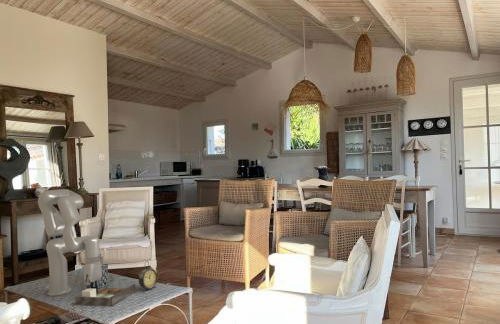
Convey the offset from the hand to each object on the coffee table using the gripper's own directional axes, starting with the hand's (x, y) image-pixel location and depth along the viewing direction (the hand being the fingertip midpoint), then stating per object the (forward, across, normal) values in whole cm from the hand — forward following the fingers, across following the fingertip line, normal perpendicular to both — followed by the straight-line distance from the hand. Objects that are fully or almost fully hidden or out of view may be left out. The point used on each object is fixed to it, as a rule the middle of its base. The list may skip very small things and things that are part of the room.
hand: (94, 293), depth 211 cm
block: (+1, +5, 0) cm, 5 cm away
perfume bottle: (+3, -35, -23) cm, 42 cm away
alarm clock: (+3, -16, +24) cm, 29 cm away
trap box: (+3, 0, +7) cm, 8 cm away
